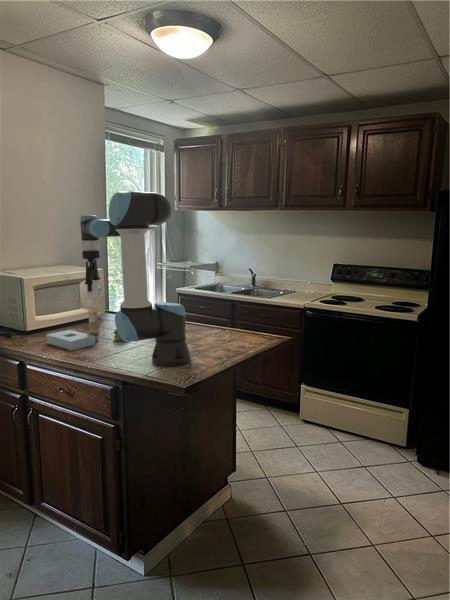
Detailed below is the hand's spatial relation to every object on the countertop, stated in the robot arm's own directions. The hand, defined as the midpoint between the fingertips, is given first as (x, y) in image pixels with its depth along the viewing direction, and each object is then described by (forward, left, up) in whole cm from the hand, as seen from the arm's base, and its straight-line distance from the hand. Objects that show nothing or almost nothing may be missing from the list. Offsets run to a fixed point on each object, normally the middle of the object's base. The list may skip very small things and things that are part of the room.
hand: (93, 296), depth 204 cm
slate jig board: (-8, +8, -21) cm, 24 cm away
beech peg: (-1, 0, -21) cm, 21 cm away
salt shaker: (+3, -12, -21) cm, 24 cm away
